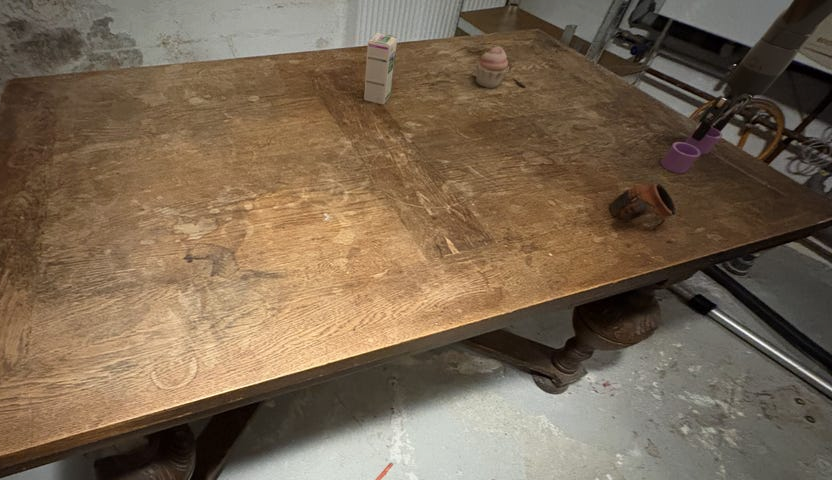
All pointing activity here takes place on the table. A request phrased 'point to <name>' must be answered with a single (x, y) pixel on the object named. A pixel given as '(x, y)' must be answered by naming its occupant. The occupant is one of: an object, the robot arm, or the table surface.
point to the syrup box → (379, 68)
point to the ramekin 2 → (705, 140)
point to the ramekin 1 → (680, 157)
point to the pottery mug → (644, 203)
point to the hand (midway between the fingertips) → (705, 134)
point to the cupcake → (492, 68)
